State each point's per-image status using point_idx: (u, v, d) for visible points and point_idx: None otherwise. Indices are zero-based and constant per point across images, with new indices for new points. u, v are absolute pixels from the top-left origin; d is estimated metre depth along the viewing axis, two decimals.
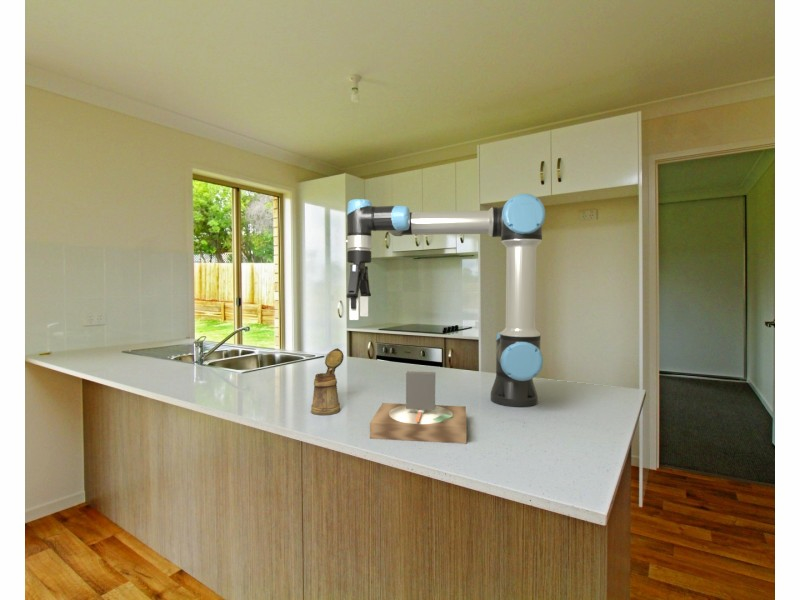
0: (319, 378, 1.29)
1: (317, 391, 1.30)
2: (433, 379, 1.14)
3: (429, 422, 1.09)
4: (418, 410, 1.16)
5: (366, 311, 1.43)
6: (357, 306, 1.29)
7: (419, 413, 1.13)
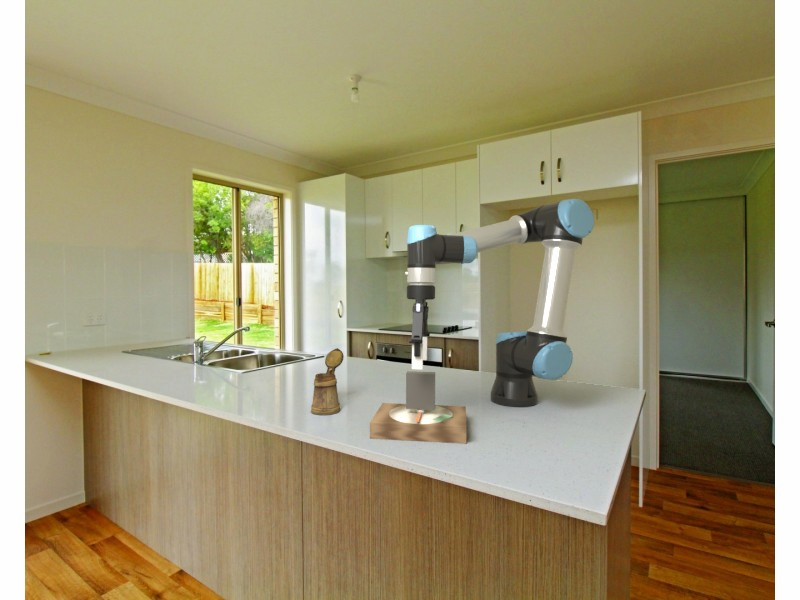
0: (319, 378, 1.29)
1: (317, 391, 1.30)
2: (433, 379, 1.14)
3: (429, 422, 1.09)
4: (418, 410, 1.16)
5: (424, 354, 1.22)
6: (421, 353, 1.08)
7: (419, 413, 1.13)
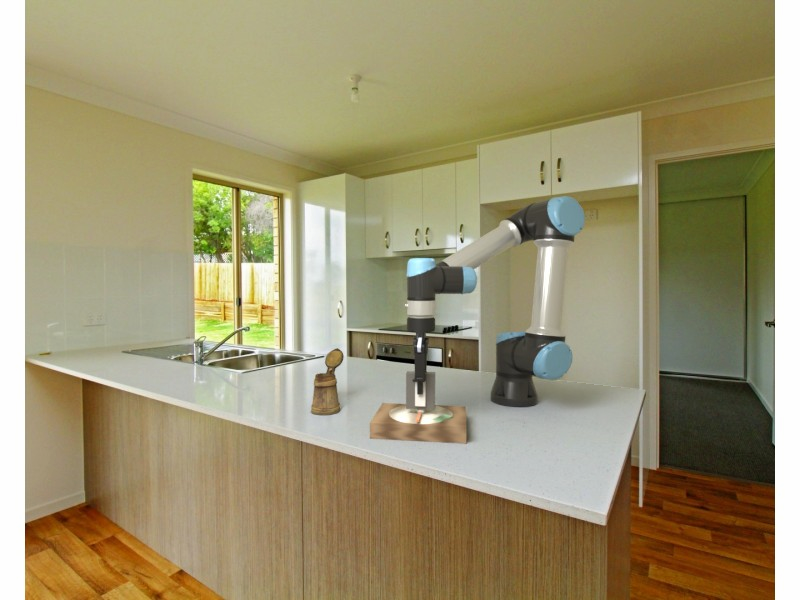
0: (319, 378, 1.29)
1: (317, 391, 1.30)
2: (433, 379, 1.14)
3: (429, 422, 1.09)
4: (418, 410, 1.16)
5: None
6: (424, 391, 1.14)
7: (419, 413, 1.13)
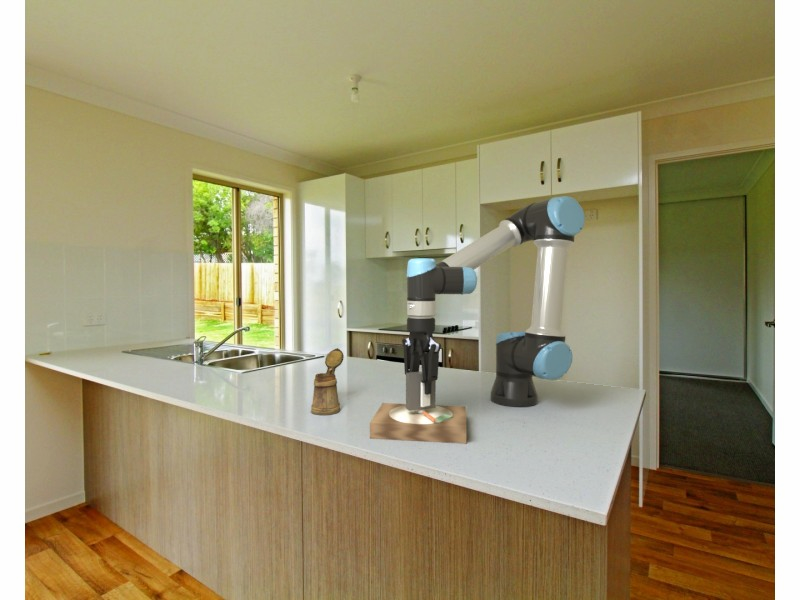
0: (319, 378, 1.29)
1: (317, 391, 1.30)
2: None
3: (429, 422, 1.09)
4: (420, 410, 1.15)
5: None
6: None
7: (426, 413, 1.13)
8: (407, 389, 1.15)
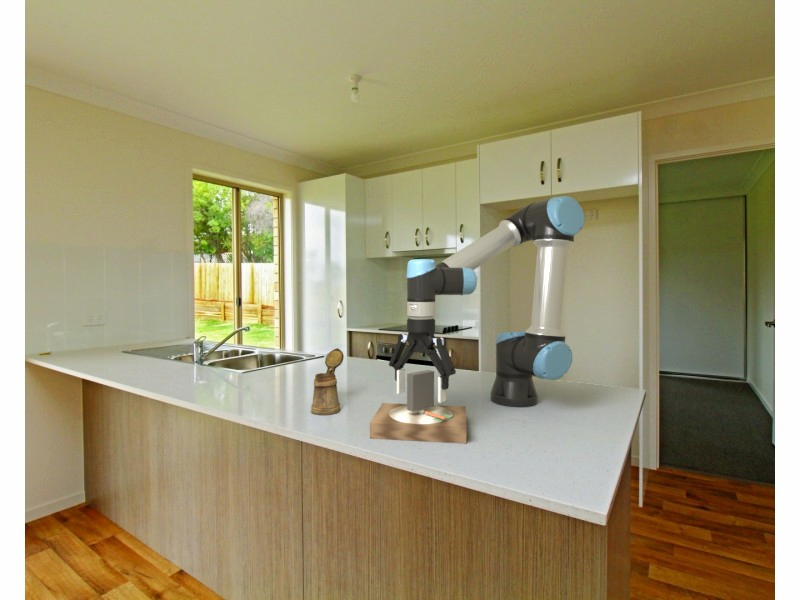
0: (319, 378, 1.29)
1: (317, 391, 1.30)
2: (433, 377, 1.17)
3: (429, 422, 1.09)
4: (421, 410, 1.15)
5: (403, 387, 1.21)
6: None
7: (430, 412, 1.14)
8: (410, 390, 1.14)
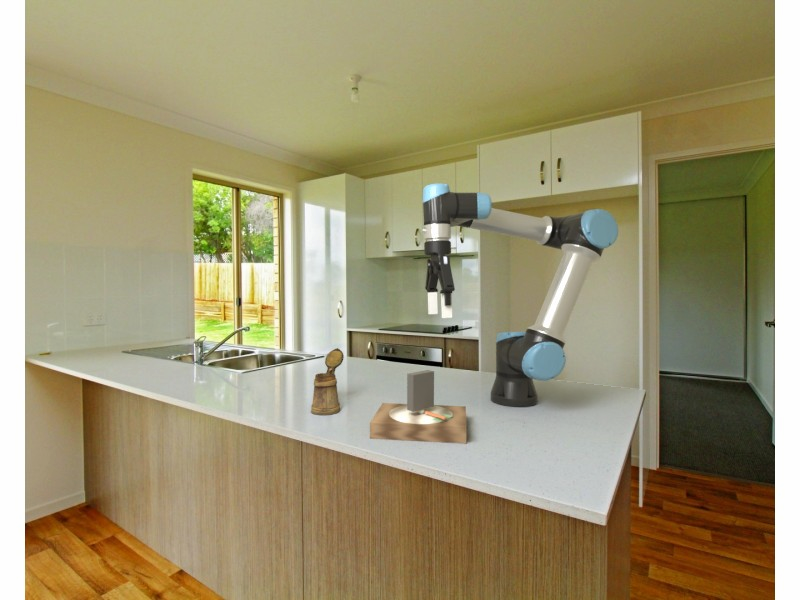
0: (319, 378, 1.29)
1: (317, 391, 1.30)
2: (433, 376, 1.17)
3: (429, 422, 1.09)
4: (421, 410, 1.15)
5: (435, 308, 1.30)
6: None
7: (430, 412, 1.14)
8: (410, 390, 1.14)
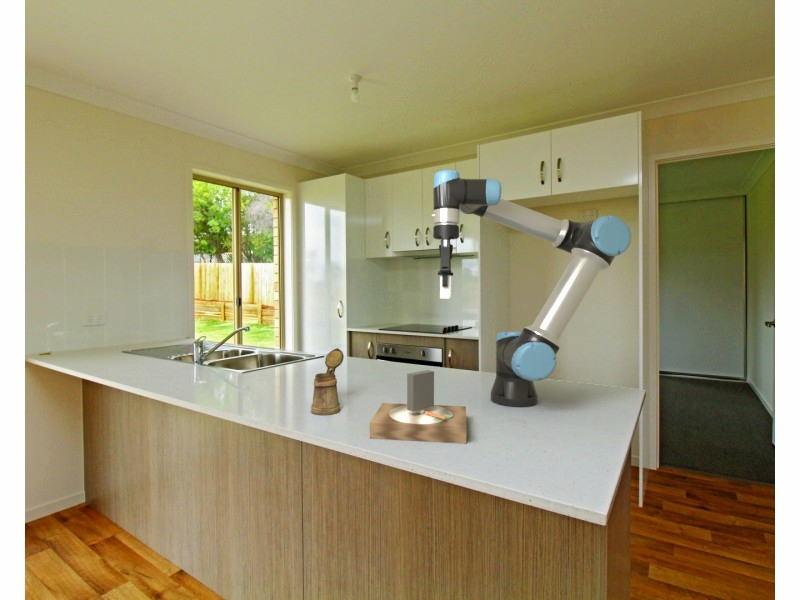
0: (319, 378, 1.29)
1: (317, 391, 1.30)
2: (433, 376, 1.17)
3: (429, 422, 1.09)
4: (421, 410, 1.15)
5: None
6: (448, 284, 1.21)
7: (430, 412, 1.14)
8: (410, 390, 1.14)
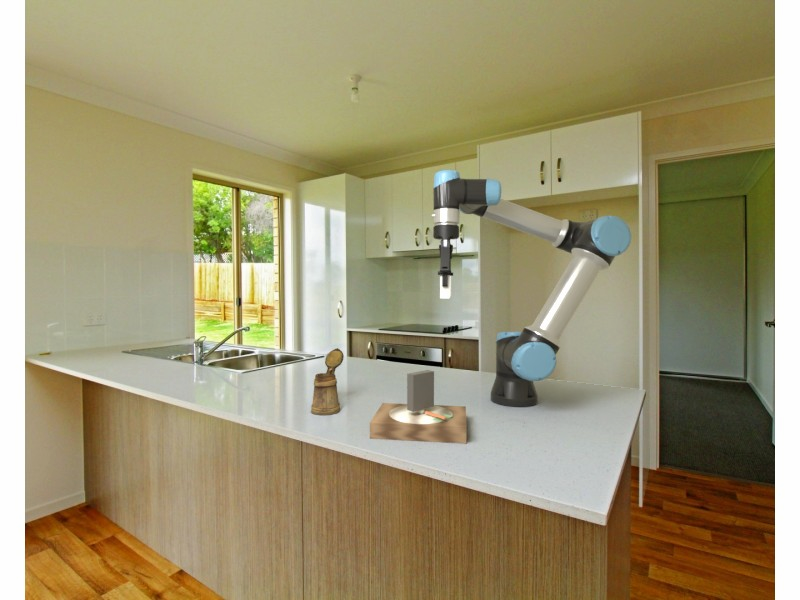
0: (319, 378, 1.29)
1: (317, 391, 1.30)
2: (433, 376, 1.17)
3: (429, 422, 1.09)
4: (421, 410, 1.15)
5: None
6: (448, 284, 1.21)
7: (430, 412, 1.14)
8: (410, 390, 1.14)
